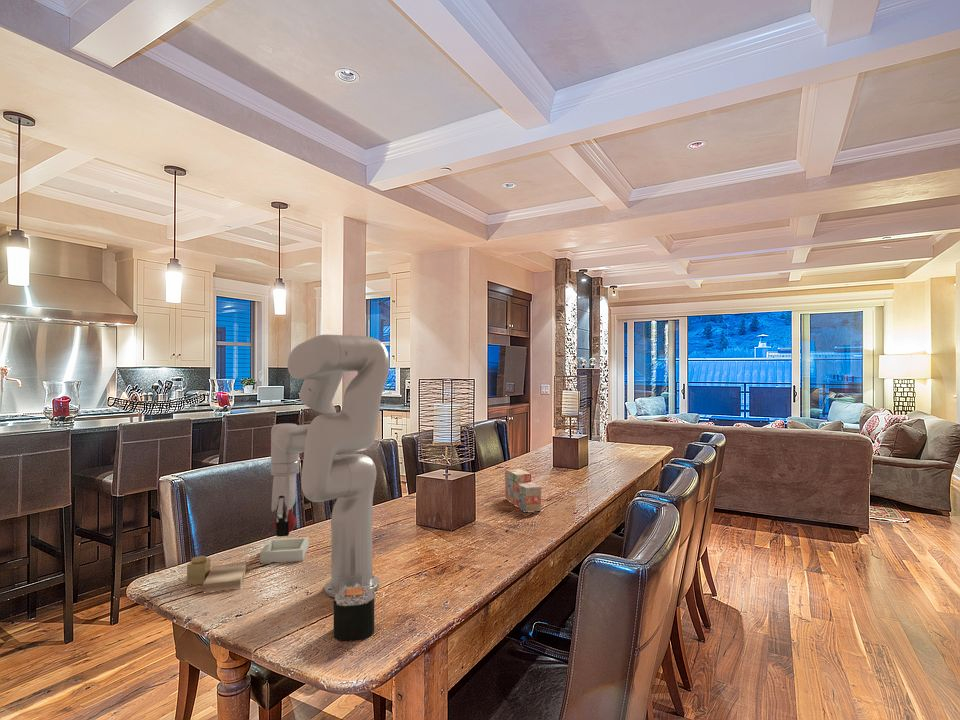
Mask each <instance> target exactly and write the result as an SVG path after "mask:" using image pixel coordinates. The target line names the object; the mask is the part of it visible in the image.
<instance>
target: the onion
mask: <svg viewBox="0 0 960 720" xmlns="http://www.w3.org/2000/svg"><path fill="white" fill-rule="evenodd" d="M283 510H286V508H283ZM283 514H285V515H286V512H284V513H283ZM288 521H289V534H290V533H291V532H292V531H293V530H294V528H295V527H296V526H297V518H296V516H295V515H294V512H293V513H292V512H290V511H288ZM276 522H277V515H276V516H275V518H274V520H273V526H274V529H275V530H276Z"/></svg>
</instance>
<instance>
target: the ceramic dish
mask: <svg viewBox="0 0 960 720" xmlns="http://www.w3.org/2000/svg"><path fill="white" fill-rule="evenodd" d="M309 547H310V537H309V536H305V537H291V538H290V537H288V538H285V537H284V538H274V539H273V538H272V539H268V541H266V544H265V545H264V546H263V547H262V549H261V550H260V553H259V564H260V563H266V564H272V563H271V562H281V563H293V562H294V561H295V562H303V561H304V559H305V556H306V554H307V553H306V552H308V551H309Z"/></svg>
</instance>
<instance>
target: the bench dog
mask: <svg viewBox="0 0 960 720" xmlns="http://www.w3.org/2000/svg"><path fill="white" fill-rule="evenodd" d="M210 570H211V557H207V556H206V555H197V556H194V557H192V558H191V560H190V561H189V563H187V565H186V572H187V573H186V585H189V586H192V585H191V584H204V582H205V580H206V578H207V576H208V574H209V572H210Z"/></svg>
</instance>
